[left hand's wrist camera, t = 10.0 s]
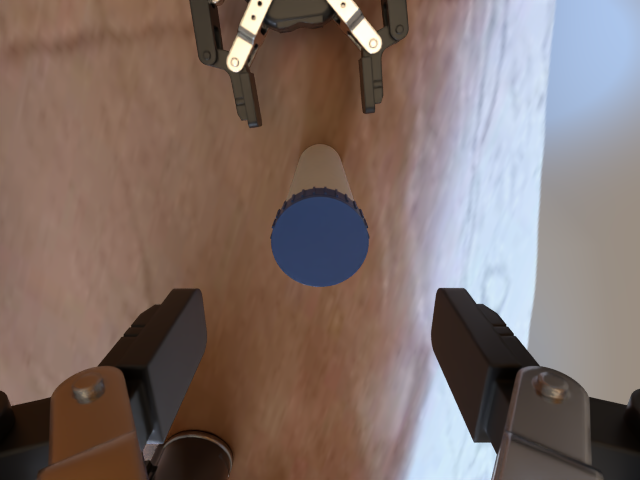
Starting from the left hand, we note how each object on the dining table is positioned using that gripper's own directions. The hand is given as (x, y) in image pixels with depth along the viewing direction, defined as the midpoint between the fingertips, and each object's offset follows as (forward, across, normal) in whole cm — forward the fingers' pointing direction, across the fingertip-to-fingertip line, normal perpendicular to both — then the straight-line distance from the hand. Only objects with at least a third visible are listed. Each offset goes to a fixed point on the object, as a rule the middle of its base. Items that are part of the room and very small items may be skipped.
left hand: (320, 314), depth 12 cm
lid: (+6, 0, 0) cm, 6 cm away
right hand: (+19, -1, +5) cm, 20 cm away
